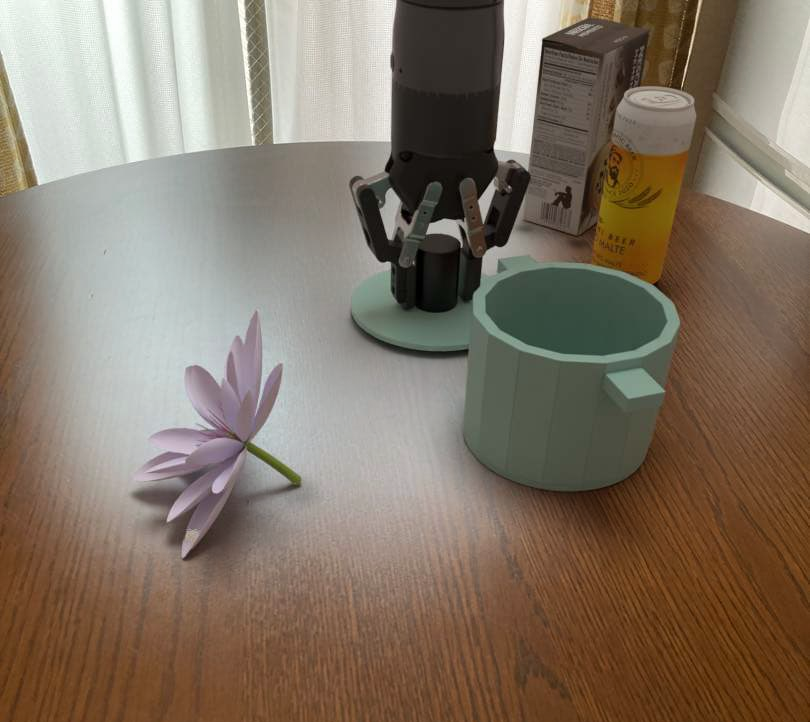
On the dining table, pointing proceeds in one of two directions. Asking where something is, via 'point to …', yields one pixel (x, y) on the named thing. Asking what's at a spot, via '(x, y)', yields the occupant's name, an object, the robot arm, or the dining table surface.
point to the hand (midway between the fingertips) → (435, 299)
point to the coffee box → (578, 119)
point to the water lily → (218, 433)
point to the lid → (420, 302)
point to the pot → (566, 372)
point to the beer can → (643, 180)
